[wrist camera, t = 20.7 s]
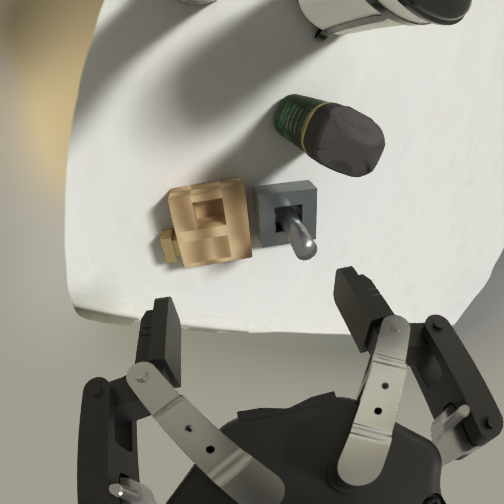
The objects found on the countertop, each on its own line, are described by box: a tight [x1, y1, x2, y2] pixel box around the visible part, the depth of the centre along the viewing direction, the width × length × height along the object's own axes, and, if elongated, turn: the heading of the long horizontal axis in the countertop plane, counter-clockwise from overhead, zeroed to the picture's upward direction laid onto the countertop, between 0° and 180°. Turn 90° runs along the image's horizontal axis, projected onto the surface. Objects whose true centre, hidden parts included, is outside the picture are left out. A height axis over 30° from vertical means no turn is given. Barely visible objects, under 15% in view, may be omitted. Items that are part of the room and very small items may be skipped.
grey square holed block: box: [254, 180, 317, 248], centre depth 50 cm, size 10×10×4 cm
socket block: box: [168, 178, 252, 268], centre depth 48 cm, size 12×13×5 cm
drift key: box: [160, 229, 181, 263], centre depth 51 cm, size 5×8×3 cm, turn 96°
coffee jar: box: [274, 94, 385, 177], centre depth 36 cm, size 10×8×19 cm
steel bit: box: [275, 206, 317, 260], centre depth 46 cm, size 3×3×13 cm
